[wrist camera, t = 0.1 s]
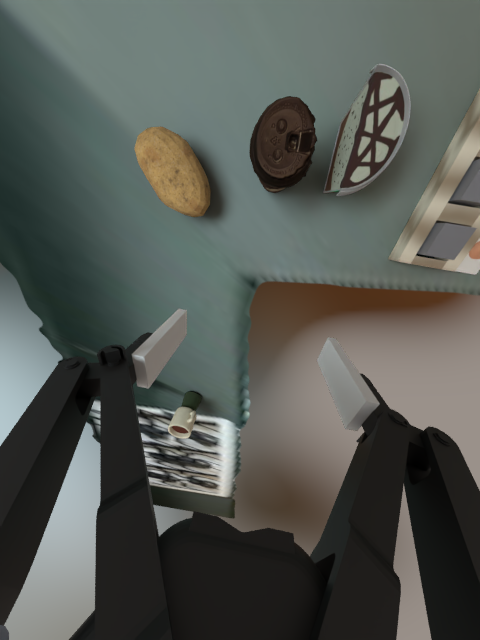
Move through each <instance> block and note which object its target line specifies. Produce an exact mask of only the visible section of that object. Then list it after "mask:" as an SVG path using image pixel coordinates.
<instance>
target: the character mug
mask: <svg viewBox="0 0 480 640" xmlns="http://www.w3.org/2000/svg"><path fill="white" fill-rule="evenodd" d="M200 402H201V396H200V395H198V394H196V393H194V392H187V393H186V394H185V396H184V399H183V403H182V406H181V407H179V408H178V409H177V410H176V412H175V414H174V416H173V418H172V421H171V423H170V425H169V427H168V431H169V433H170V434H171V435H173V436H175V437H177V438H183V439H185V438H188V437H189V436H190V434H191V432H192V429H193V424H194V422H195V420H196V412H195V411H196V410H197V408H198V406H199V404H200Z"/></svg>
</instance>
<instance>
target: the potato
mask: <svg viewBox="0 0 480 640" xmlns="http://www.w3.org/2000/svg"><path fill="white" fill-rule="evenodd" d="M134 149H135V152H136V156H137V160H138V163H139V165H140V167H141V169H142V170H143V172H144V174H145V176H146V178H147V179H148V181H149V182H150V184H151V185H152V187H153V189H154V190H155V192H156V194H157V195H158V197H159V199H160V200H161V201H162V202H163V203H164V204H165V205H166V206H168V207H170V208H172V209H174V210H176V211H178V212H180V213H182V214H184V215H188V216H191V217H198V216H203V215H204V213H205V212H206V210H207V208H208V207H209V205H210V192H211V190H210V186H209V182H208V178H207V176H206V174H205V172H204V170H203V168H202V166H201V164H200V163H199V161H198V159H197V157H196V156H195V154H194V152H193V151H192V149H191V147H190V146H189V144H188V142H187V141H185V140H184V139H183V138H182V137H180V136H179V135H178V134H176V133H174V132H172V131H170V130H168V129H166V128H164V127H151V128H147V129H146V130H145V131H143V132H142V133H141V134H139V135H138V138H137V141H136V145H135V148H134Z"/></svg>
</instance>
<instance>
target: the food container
mask: <svg viewBox="0 0 480 640" xmlns="http://www.w3.org/2000/svg"><path fill="white" fill-rule="evenodd" d="M370 73H372V74H371V75H370V77H369V78H368V80H367V81H366V83H365V85H364V86H363V88H362V89H361V91H360V93H359V94H358V96H357V97H356V99H355V100H354V102H353V104H352V105H351V107H350V108H349V110H348V111H347V113H346V115H345V116H344V118H343V119H342V121H341V123H340V125H339V130H338V134H337V138H336V142H335V146H334V150H333V154H332V158H331V162H330V167H329V171H328V175H327V179H326V183H325V187H324V191H323V193H332V192H337V191H340V192H339V193H338V194H337V195H336V196H344V195H349V194H352V193H354V192H357V191H359V190H361V189H363V188H364V187H366V186H367V185H369V184H370V183H371V182H372V181H373V180H374V179H376V178H377V177H378V176H379V175H380V174H381V173H382V172H383V171H384V170H385V169H386V168H387V166H388V165H389V164H390V162H391V161H392V160H393V158H394V157H395V155H396V153H397V151H398V150H399V148H400V146H401V144H402V141H403V139H404V137H405V134H406V131H407V128H408V124H409V118H410V108H411V103H410V94H409V90H408V86H407V84H406V82H405V80H404V78H403V77H402V76H401V74H400V73H399V72H398V71H396V70H395V69H394V68H392V67H390V66H388V65H385V64H378V65H375V66H374V67H373V68H372V69H371V70H370Z"/></svg>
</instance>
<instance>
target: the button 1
mask: <svg viewBox="0 0 480 640" xmlns="http://www.w3.org/2000/svg"><path fill="white" fill-rule="evenodd" d="M476 229H477V228H473V227H467V226H461V225H455V224H449V223H435V224H434V226H433V227H432V229H431V231H430V232H429V234H428V236H427V237H426V239H425V241H424V242H423V244H422V246H421V247H420V249H419V251H418V252H417V254H421V255H427V256H433V257H439V258H444V259H450V260H455V258H456V257H457V256H458V254H459V253H460V251H461V250H462V249H463V247H464V246H465V244H466V243H467V242H468V240H469V239H470V237H471V236H472V235H473V233H474V232H475V230H476Z"/></svg>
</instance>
